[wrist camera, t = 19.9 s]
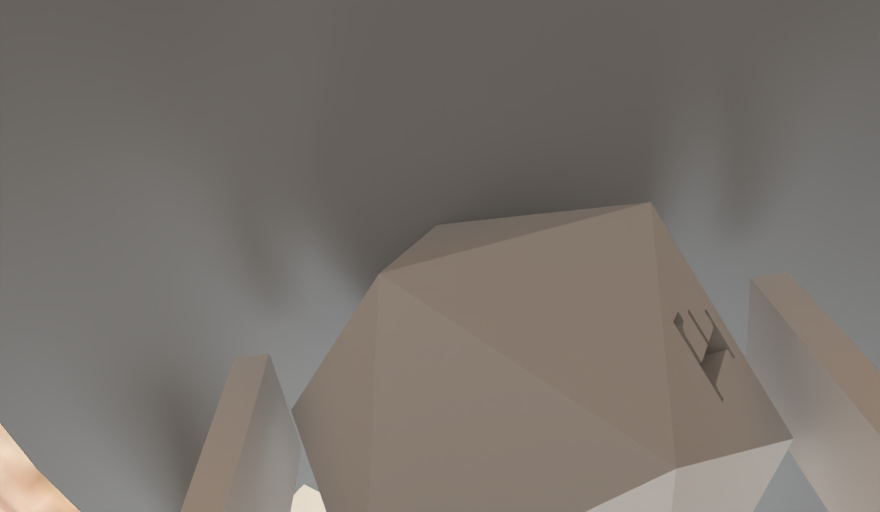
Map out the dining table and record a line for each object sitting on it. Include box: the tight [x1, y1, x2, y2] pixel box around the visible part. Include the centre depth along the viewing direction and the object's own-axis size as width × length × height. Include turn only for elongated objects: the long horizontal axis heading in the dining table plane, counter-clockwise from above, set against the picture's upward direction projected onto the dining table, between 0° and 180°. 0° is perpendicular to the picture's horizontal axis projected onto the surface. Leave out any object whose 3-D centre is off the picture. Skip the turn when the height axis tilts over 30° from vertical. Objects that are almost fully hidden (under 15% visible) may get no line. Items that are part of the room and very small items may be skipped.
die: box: [291, 202, 794, 512], centre depth 14 cm, size 8×9×10 cm
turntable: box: [0, 0, 880, 512], centre depth 16 cm, size 26×26×8 cm
